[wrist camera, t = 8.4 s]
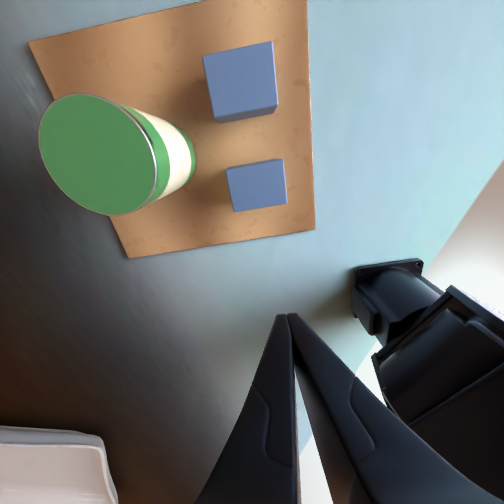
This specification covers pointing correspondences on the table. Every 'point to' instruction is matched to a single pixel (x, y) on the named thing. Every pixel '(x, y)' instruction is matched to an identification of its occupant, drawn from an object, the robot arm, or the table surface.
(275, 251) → the table surface
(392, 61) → the table surface
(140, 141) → the green tin
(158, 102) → the cork mat
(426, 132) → the table surface
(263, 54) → the blue blocks
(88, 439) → the square plate
